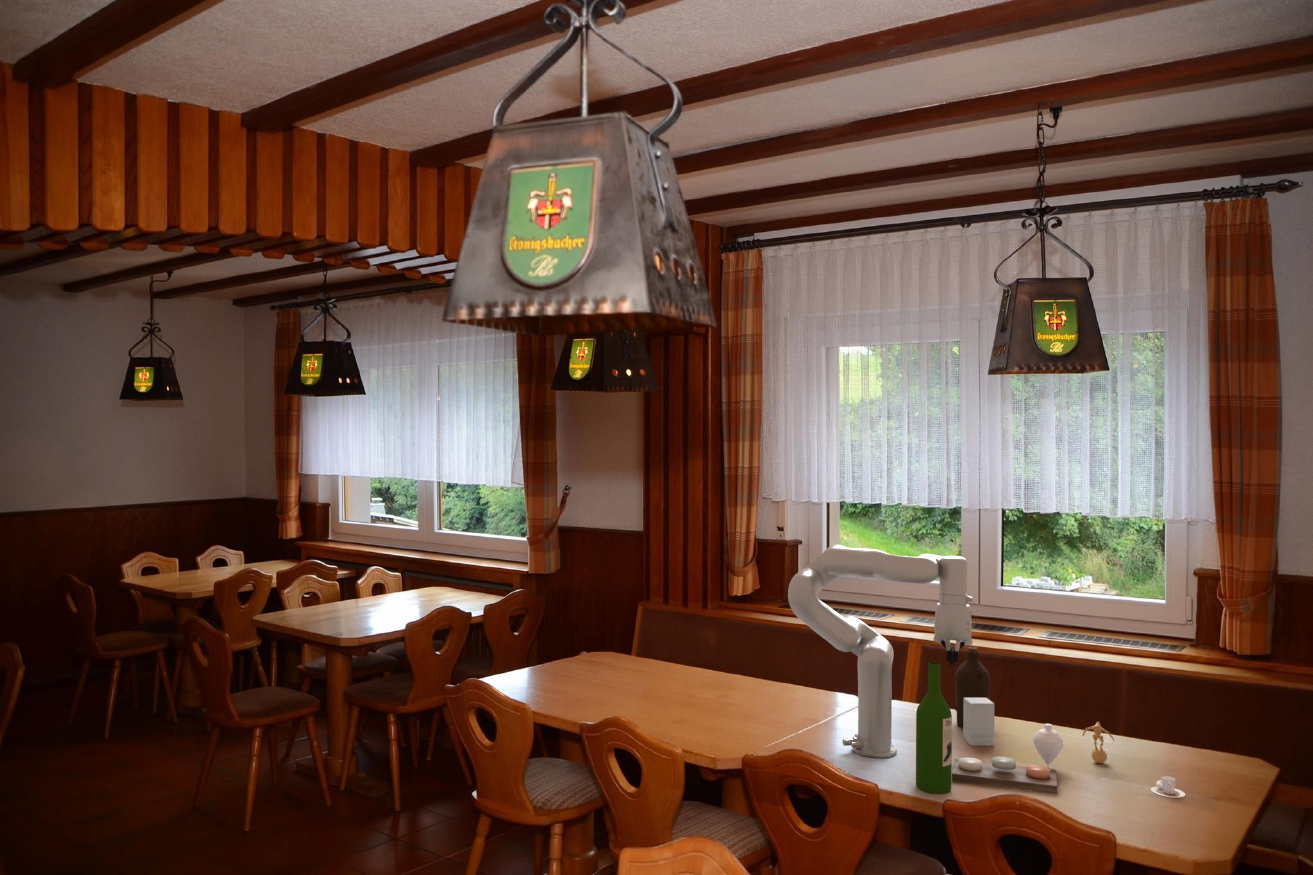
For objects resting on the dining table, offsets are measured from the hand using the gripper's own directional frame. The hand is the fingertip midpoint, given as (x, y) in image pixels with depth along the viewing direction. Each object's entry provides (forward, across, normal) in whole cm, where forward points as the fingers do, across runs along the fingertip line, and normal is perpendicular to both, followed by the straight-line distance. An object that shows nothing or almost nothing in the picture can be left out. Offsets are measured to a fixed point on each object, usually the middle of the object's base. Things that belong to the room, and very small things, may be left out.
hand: (952, 664), depth 274 cm
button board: (+27, -14, +12) cm, 33 cm away
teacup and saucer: (+28, -56, +5) cm, 63 cm away
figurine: (+27, -39, -11) cm, 49 cm away
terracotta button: (+25, -22, +12) cm, 36 cm away
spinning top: (+27, -25, -2) cm, 37 cm away
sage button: (+24, -14, +12) cm, 30 cm away
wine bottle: (+27, +3, +26) cm, 38 cm away
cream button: (+25, -5, +12) cm, 28 cm away
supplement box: (+27, -7, -20) cm, 34 cm away
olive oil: (+27, -4, -36) cm, 46 cm away
